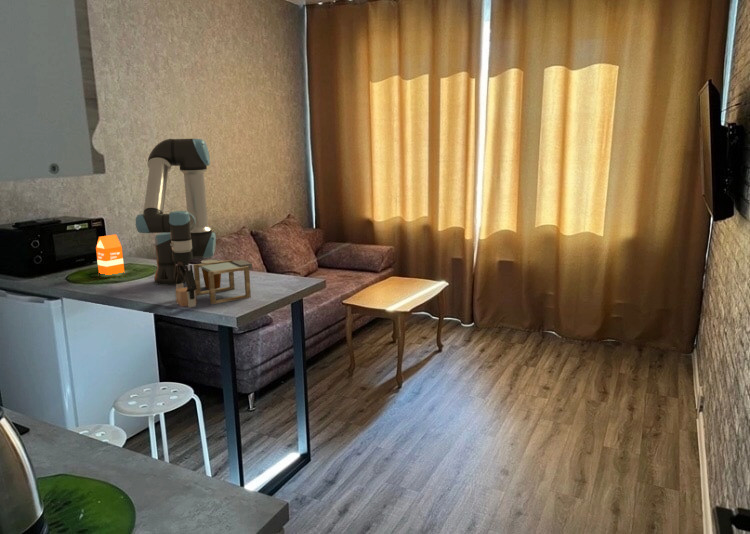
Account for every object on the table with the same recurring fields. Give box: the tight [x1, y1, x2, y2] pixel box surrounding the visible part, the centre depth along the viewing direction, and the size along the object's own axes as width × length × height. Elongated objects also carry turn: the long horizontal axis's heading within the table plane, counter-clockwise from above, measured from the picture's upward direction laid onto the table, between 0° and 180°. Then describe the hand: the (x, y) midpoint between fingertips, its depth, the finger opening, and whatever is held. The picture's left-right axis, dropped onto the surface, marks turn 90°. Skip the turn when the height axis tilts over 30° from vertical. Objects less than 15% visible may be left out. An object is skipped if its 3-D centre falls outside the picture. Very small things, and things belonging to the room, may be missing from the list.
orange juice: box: [95, 233, 125, 275], centre depth 271 cm, size 8×9×20 cm
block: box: [175, 286, 197, 307], centre depth 224 cm, size 6×6×6 cm
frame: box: [193, 259, 252, 305], centre depth 234 cm, size 19×17×13 cm
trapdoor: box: [200, 259, 253, 272], centre depth 235 cm, size 15×18×2 cm
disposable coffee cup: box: [200, 258, 222, 290], centre depth 249 cm, size 10×10×12 cm
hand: (186, 303), depth 225 cm, fingers open, 13 cm apart
